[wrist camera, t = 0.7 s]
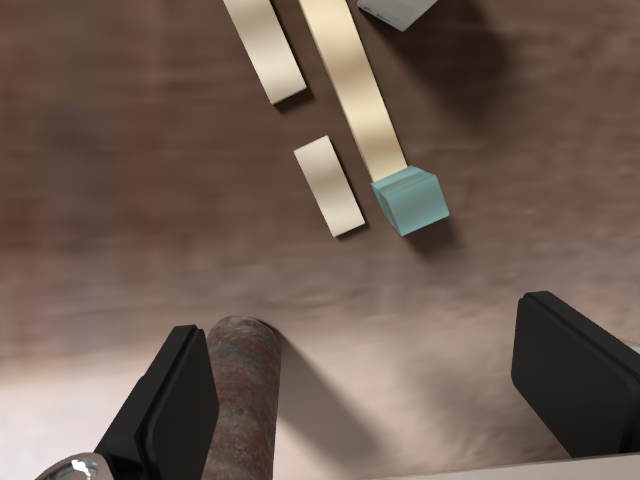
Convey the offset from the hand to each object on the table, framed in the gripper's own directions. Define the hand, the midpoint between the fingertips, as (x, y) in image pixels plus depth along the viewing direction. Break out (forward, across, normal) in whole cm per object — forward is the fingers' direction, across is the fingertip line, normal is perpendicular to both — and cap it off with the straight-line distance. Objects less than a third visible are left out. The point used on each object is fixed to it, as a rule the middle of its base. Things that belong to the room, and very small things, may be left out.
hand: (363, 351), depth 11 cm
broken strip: (+22, +2, -8) cm, 24 cm away
